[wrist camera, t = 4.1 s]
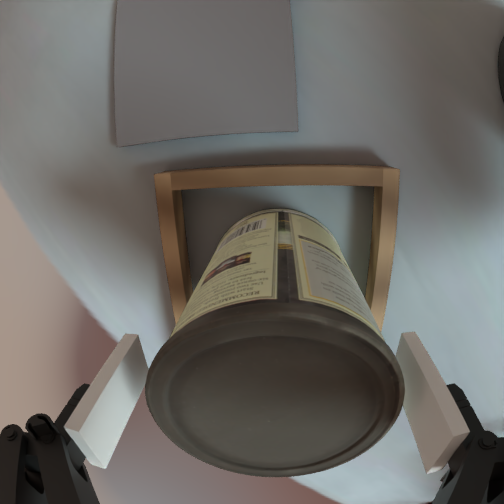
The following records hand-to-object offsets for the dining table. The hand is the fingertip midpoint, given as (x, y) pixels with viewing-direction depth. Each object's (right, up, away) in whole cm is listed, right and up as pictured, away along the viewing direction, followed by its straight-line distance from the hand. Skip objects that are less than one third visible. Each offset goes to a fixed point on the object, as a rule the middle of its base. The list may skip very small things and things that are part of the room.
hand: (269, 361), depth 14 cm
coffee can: (+1, +4, +10) cm, 10 cm away
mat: (-4, +19, +4) cm, 20 cm away
